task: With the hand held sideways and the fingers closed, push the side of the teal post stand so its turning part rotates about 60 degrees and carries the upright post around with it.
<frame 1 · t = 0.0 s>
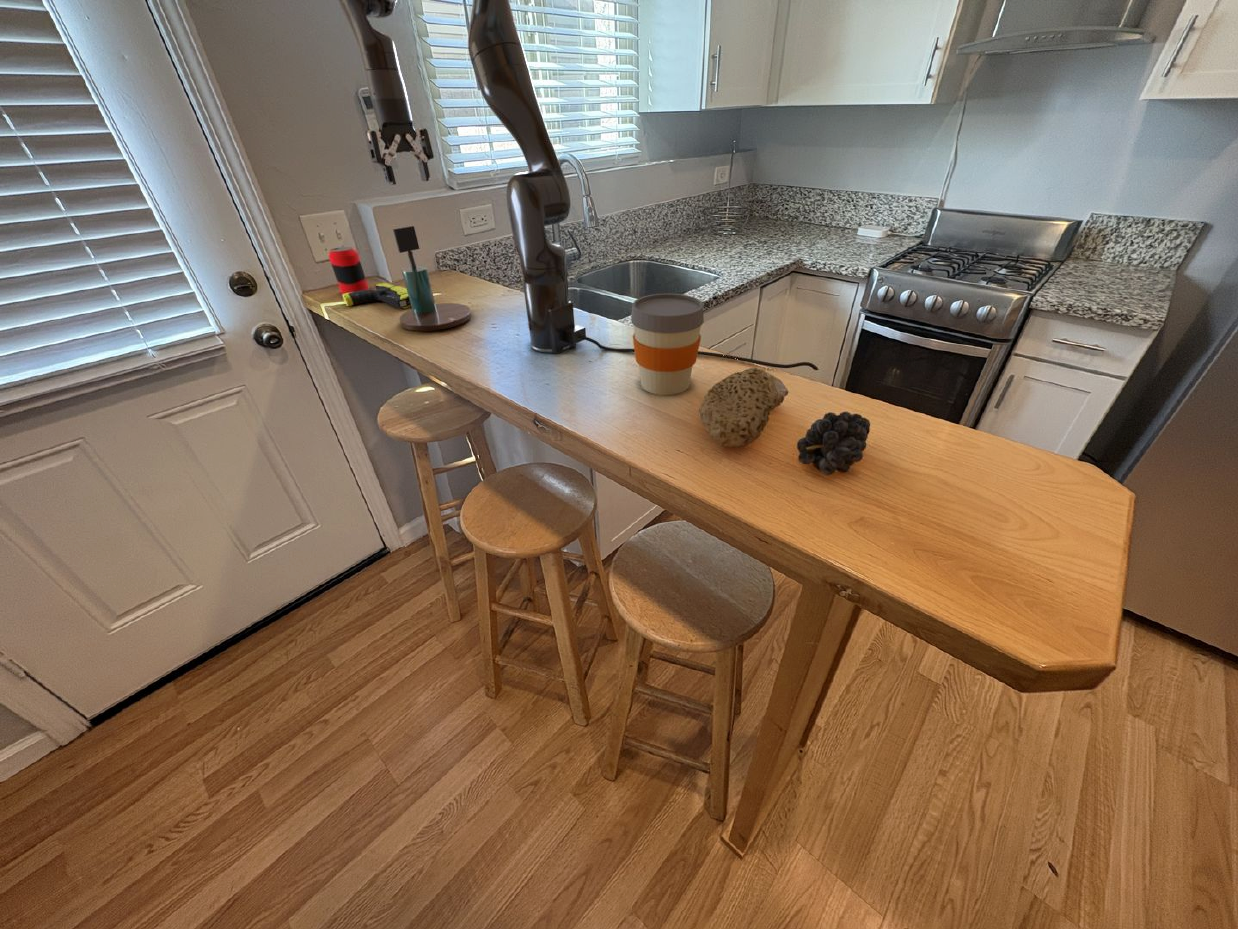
hand: (409, 182, 116), 29 cm above the table, tool pointing down, fingers open, 8 cm apart
sponge: (739, 424, 80), on the table
fruit: (836, 459, 71), on the table
teal post stand: (426, 276, 117), point 11 cm above the table, hinge at 0.0°
stun gun: (382, 304, 136), on the table
soda can: (355, 292, 145), on the table
reusable coffee cup: (664, 384, 92), on the table
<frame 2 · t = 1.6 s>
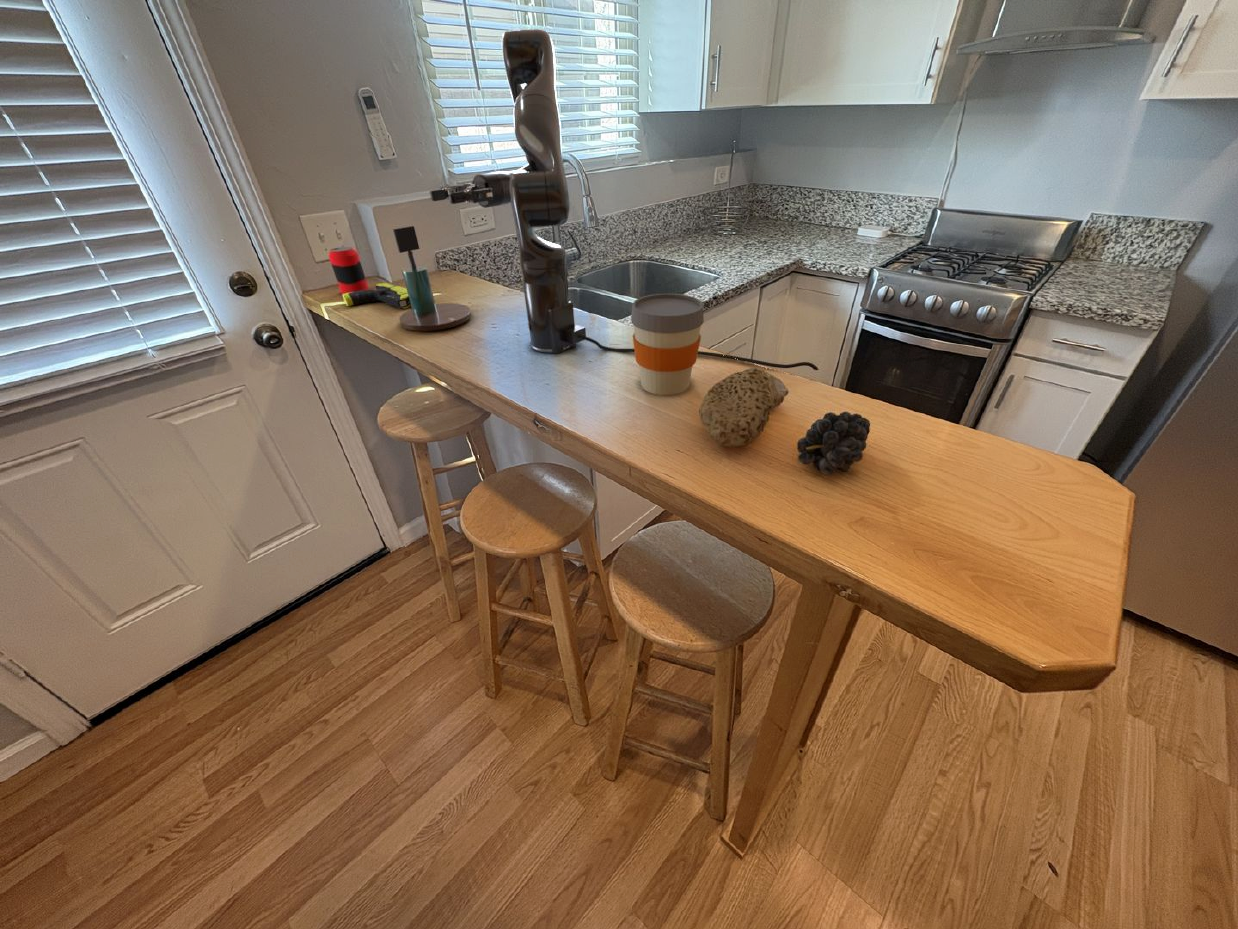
hand: (440, 197, 116), 26 cm above the table, tool horizontal, fingers open, 7 cm apart
nothing on the table moved.
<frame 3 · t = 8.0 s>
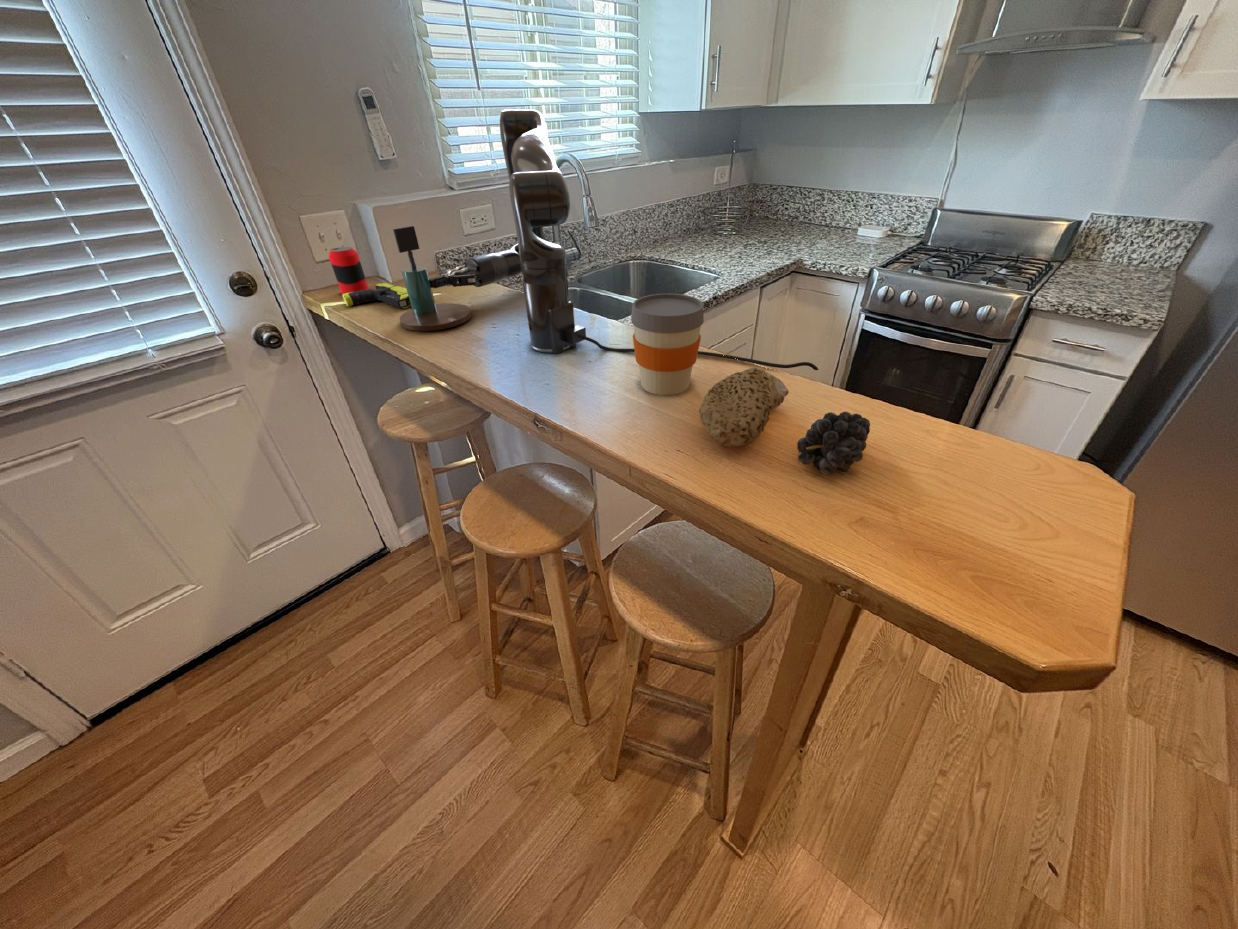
hand: (431, 283, 122), 8 cm above the table, tool horizontal, fingers closed
teal post stand: (426, 276, 117), point 11 cm above the table, hinge at 0.0°, touching gripper
everything else where it was.
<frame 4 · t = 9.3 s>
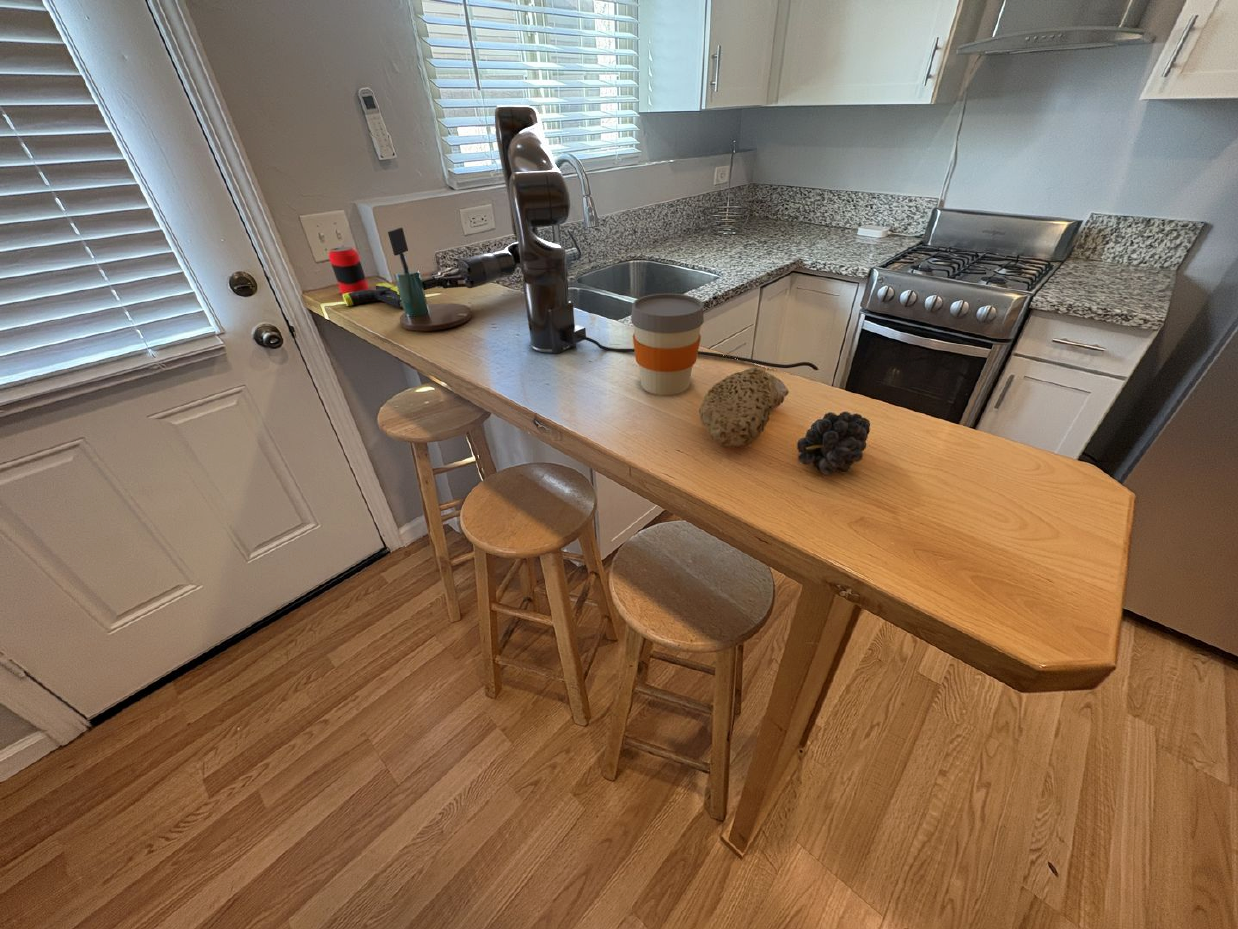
hand: (420, 285, 121), 8 cm above the table, tool horizontal, fingers closed
teal post stand: (426, 276, 117), point 11 cm above the table, hinge at 29.5°, touching gripper
everything else where it was.
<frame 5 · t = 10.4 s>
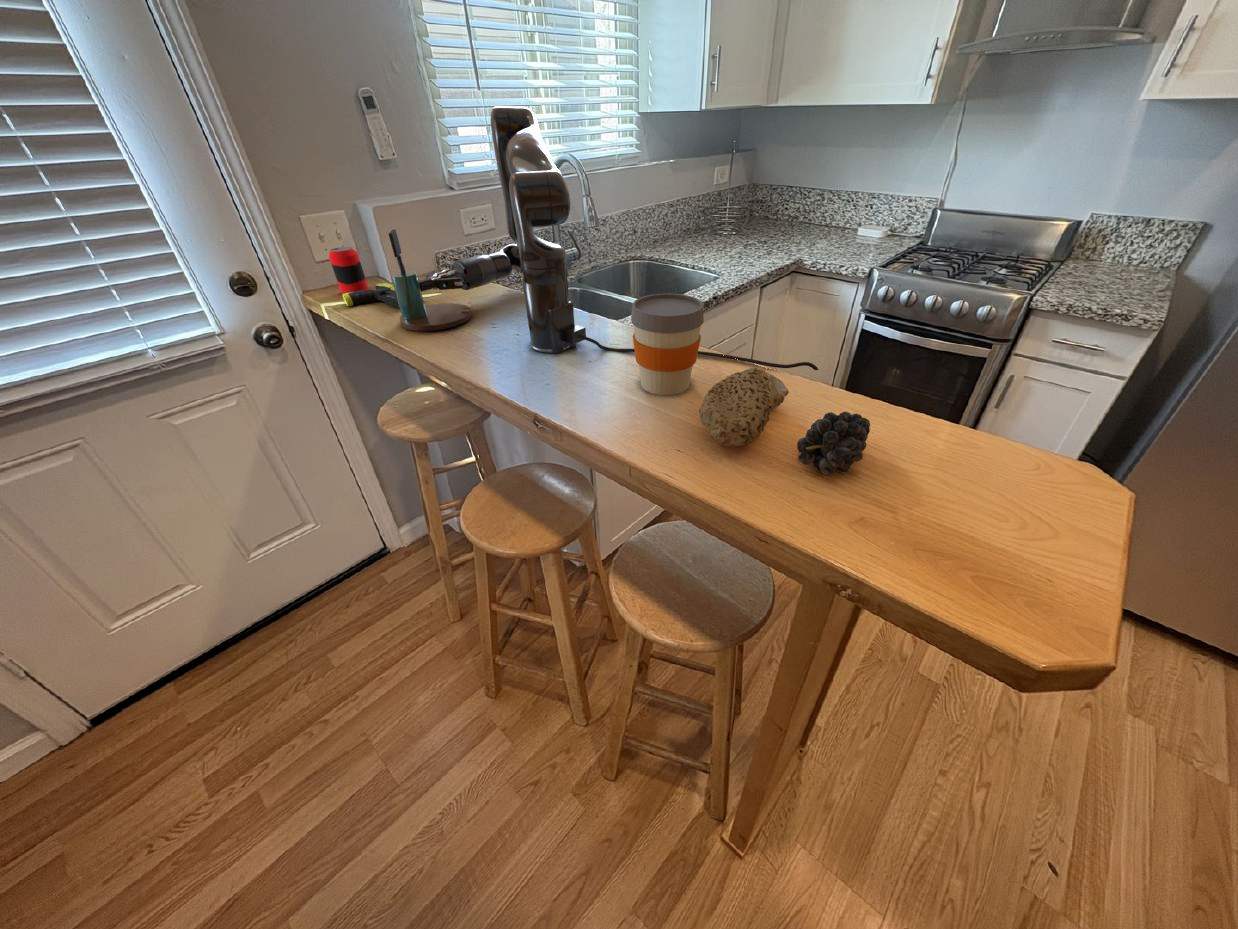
hand: (416, 287, 120), 8 cm above the table, tool horizontal, fingers closed
teal post stand: (426, 276, 117), point 11 cm above the table, hinge at 51.8°
everything else where it was.
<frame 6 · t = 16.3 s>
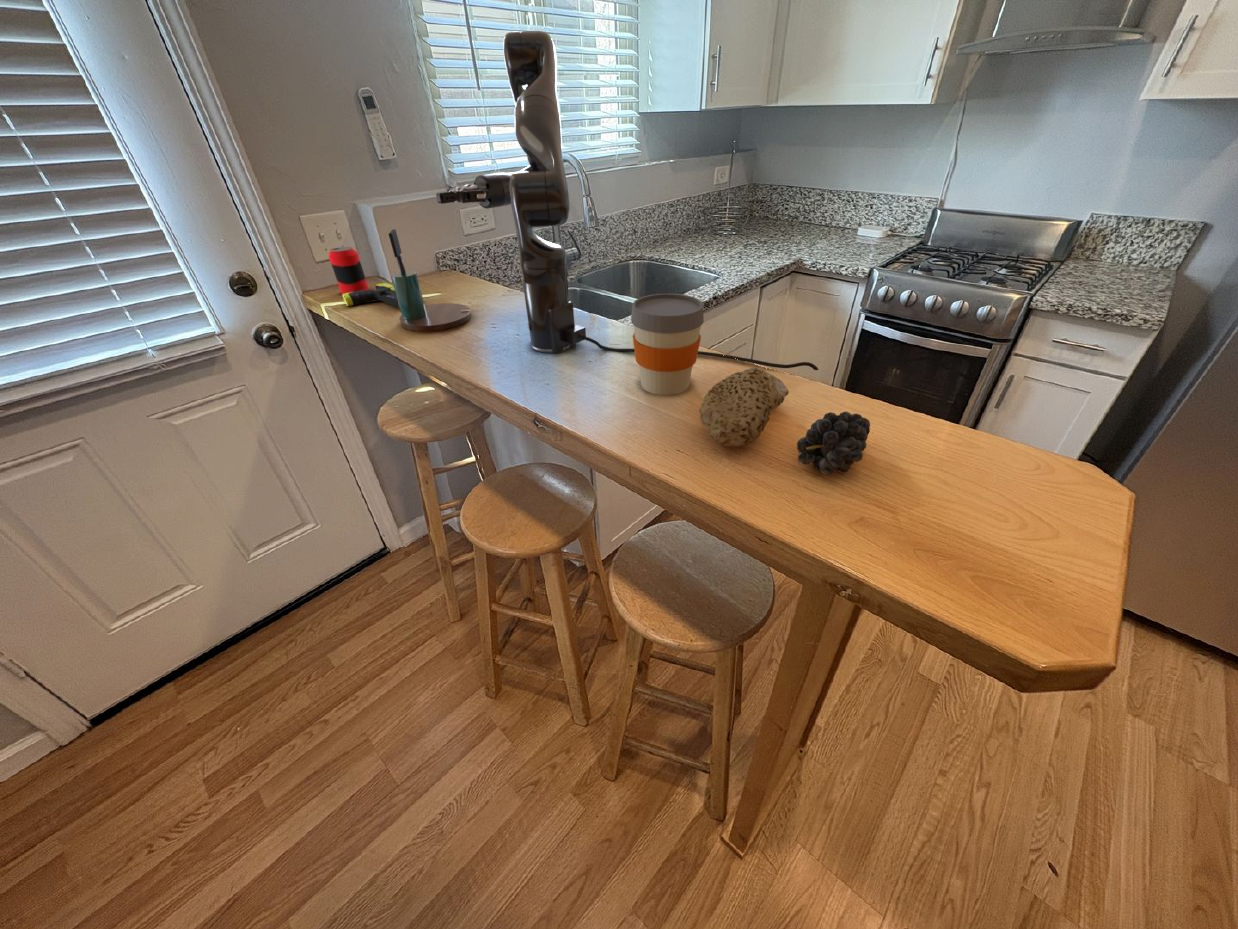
hand: (438, 198, 116), 26 cm above the table, tool horizontal, fingers closed
nothing on the table moved.
at the end: teal post stand at +52° (first picture: +0°); the gripper is holding nothing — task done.
